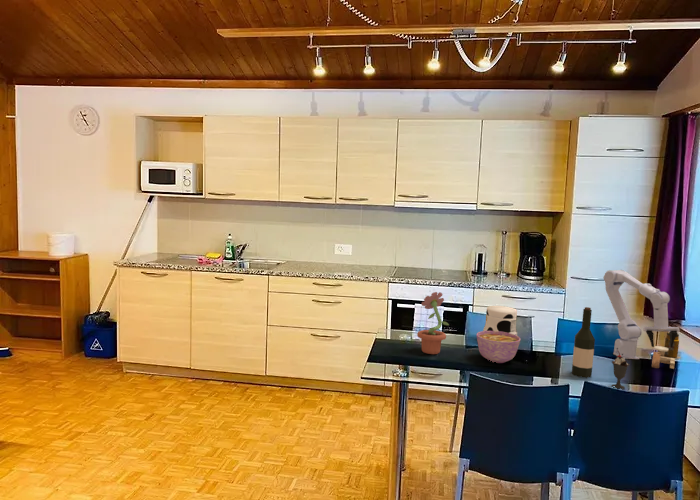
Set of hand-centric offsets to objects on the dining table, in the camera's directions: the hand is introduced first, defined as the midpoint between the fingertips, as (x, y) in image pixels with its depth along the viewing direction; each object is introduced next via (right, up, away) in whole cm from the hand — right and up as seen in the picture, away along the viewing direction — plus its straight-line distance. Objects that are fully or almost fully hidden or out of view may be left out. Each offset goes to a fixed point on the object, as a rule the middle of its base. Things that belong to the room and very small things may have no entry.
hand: (661, 346), depth 250 cm
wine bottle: (-44, -10, -15) cm, 48 cm away
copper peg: (-3, -10, +1) cm, 10 cm away
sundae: (-35, -12, -28) cm, 47 cm away
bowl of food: (-78, -7, 0) cm, 78 cm away
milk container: (-67, -4, +32) cm, 75 cm away
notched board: (+5, -10, +6) cm, 12 cm away
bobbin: (+7, -9, +14) cm, 18 cm away
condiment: (+15, -9, +20) cm, 26 cm away
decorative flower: (-107, -4, +8) cm, 107 cm away
